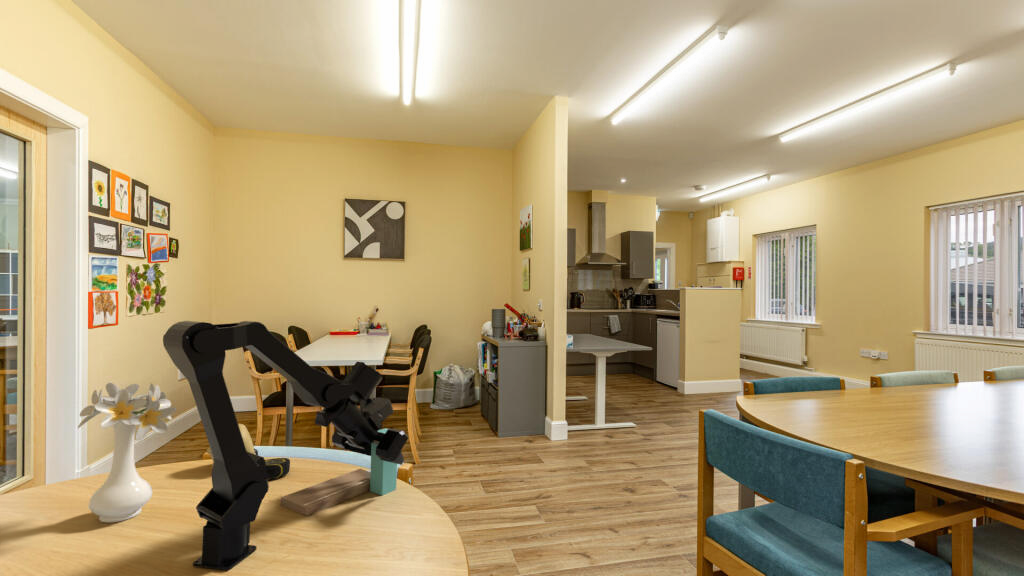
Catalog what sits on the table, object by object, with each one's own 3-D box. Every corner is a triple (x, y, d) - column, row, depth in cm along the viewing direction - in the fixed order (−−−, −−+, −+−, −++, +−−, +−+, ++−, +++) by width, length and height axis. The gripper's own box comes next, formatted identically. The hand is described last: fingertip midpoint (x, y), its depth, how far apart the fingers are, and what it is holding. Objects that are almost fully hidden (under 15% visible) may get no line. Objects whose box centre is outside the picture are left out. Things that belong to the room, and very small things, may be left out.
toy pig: (250, 481, 114) (272, 443, 122) (231, 456, 107) (255, 417, 115) (214, 478, 115) (237, 440, 123) (192, 452, 107) (218, 414, 116)
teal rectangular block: (382, 495, 99) (384, 435, 99) (360, 487, 103) (362, 429, 103) (396, 489, 102) (397, 431, 103) (375, 482, 106) (376, 426, 107)
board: (306, 516, 89) (306, 508, 89) (280, 504, 94) (280, 496, 94) (385, 483, 106) (385, 476, 106) (360, 474, 110) (360, 468, 111)
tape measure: (290, 470, 113) (290, 454, 113) (288, 479, 107) (289, 463, 107) (258, 473, 111) (259, 458, 111) (255, 484, 104) (256, 467, 104)
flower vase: (126, 538, 79) (133, 394, 80) (49, 524, 84) (57, 387, 85) (194, 506, 92) (200, 382, 93) (124, 495, 96) (130, 377, 97)
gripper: (402, 393, 94) (437, 434, 103) (344, 383, 104) (380, 421, 113) (371, 440, 87) (411, 480, 96) (312, 425, 97) (353, 462, 106)
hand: (388, 458), depth 103 cm, fingers open, 8 cm apart
